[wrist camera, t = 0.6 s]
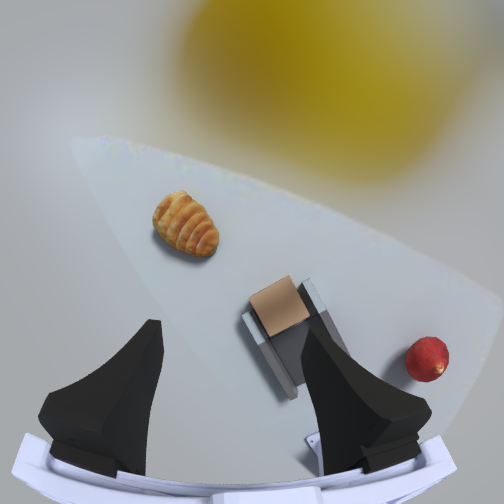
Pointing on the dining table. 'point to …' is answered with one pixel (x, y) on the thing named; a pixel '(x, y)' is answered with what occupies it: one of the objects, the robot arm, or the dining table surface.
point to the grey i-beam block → (292, 343)
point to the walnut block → (279, 306)
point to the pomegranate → (427, 359)
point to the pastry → (186, 225)
